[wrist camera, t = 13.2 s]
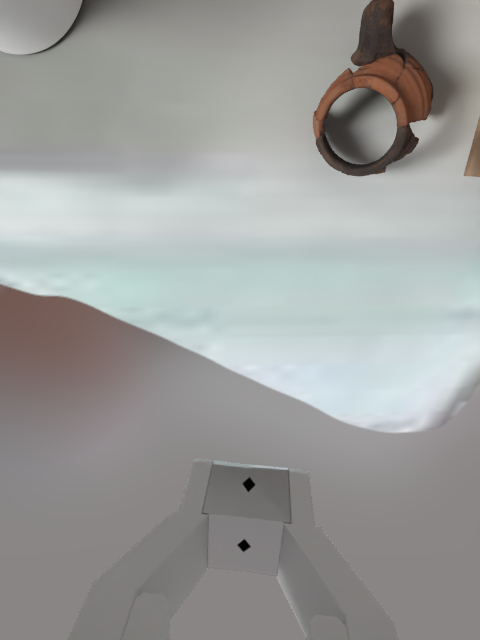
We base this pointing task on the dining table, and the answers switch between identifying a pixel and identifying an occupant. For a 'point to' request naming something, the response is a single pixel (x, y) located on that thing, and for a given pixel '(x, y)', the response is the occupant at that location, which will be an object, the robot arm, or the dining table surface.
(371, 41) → the pottery mug
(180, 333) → the dining table surface
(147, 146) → the dining table surface
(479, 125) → the walnut plug panel
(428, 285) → the dining table surface
